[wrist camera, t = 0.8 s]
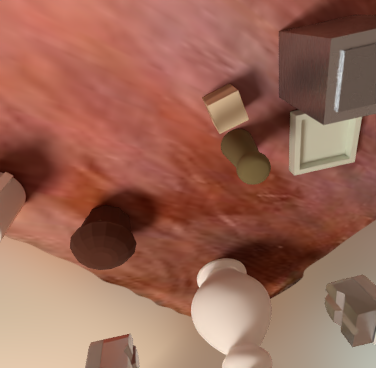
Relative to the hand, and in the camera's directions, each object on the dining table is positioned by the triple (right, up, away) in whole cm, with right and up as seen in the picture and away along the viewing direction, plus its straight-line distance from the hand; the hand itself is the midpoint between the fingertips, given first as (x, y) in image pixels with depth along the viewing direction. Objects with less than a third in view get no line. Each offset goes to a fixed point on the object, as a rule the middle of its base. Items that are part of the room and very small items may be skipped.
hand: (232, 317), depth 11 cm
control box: (+19, +26, +33) cm, 46 cm away
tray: (+23, +15, +41) cm, 49 cm away
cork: (+7, +13, +40) cm, 42 cm away
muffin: (-18, -2, +45) cm, 49 cm away
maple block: (+4, +19, +35) cm, 40 cm away
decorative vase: (+7, -18, +58) cm, 61 cm away
